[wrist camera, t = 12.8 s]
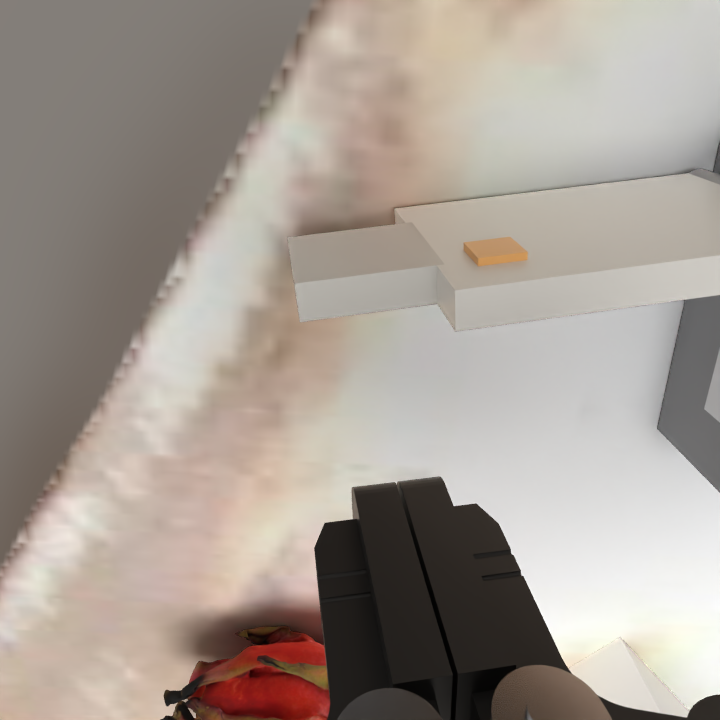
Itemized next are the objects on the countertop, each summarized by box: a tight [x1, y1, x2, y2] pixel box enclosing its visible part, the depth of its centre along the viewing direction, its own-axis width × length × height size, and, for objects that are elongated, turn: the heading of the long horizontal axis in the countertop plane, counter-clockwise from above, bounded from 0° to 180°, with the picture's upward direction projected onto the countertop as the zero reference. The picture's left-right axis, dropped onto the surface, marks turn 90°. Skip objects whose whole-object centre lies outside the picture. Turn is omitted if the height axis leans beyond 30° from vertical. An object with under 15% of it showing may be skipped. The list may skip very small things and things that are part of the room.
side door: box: [287, 169, 720, 332], centre depth 17 cm, size 14×1×7 cm, turn 95°
